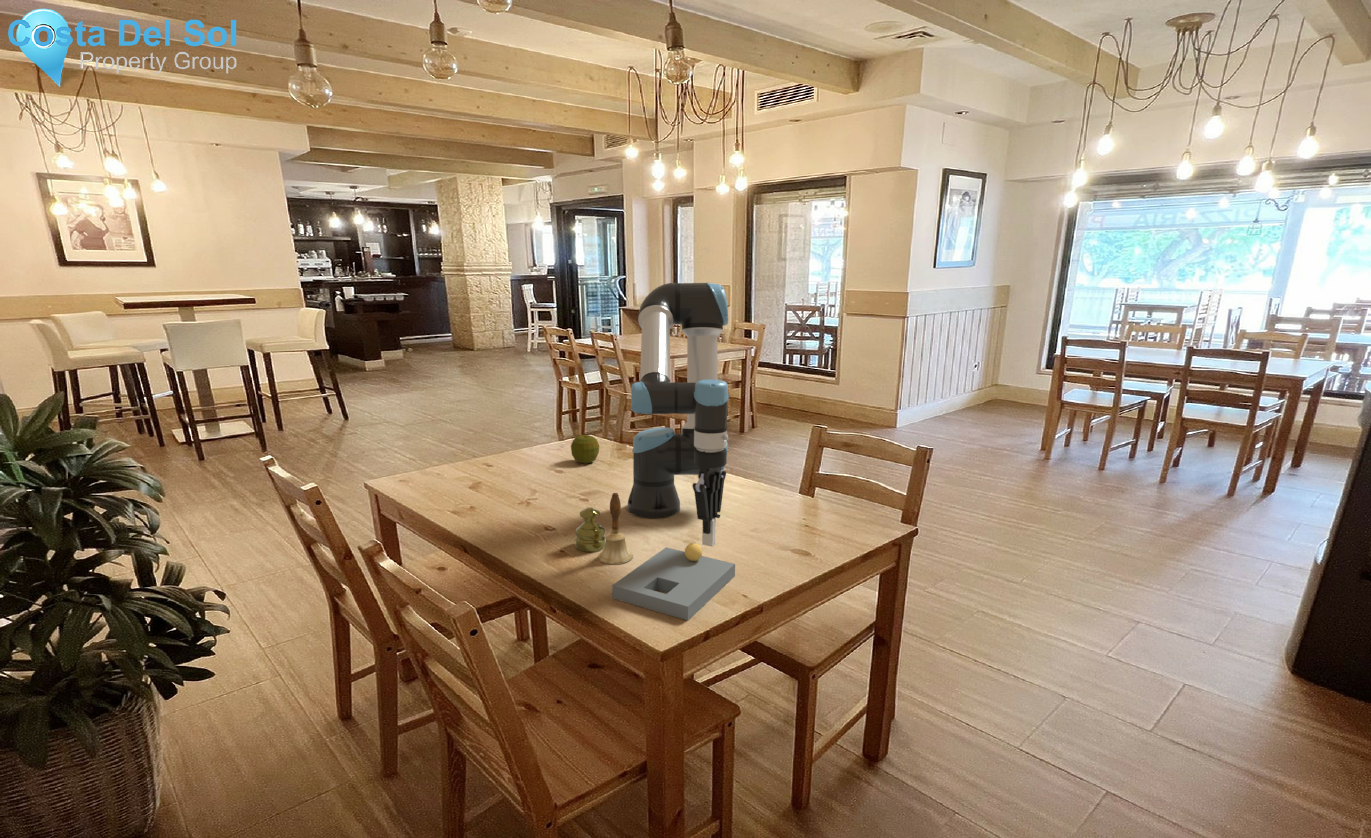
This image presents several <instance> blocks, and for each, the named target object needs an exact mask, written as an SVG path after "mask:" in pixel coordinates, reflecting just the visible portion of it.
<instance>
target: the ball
mask: <svg viewBox="0 0 1371 838" xmlns="http://www.w3.org/2000/svg"><path fill="white" fill-rule="evenodd" d="M684 552H685V556H686V557H687V559H689V560H691V561H697V560H699V559H700V558H701V556H703V548H702V546H701V545H699V543H696V542H691V543H689V544H687V545H686V547H685V548H684Z"/></svg>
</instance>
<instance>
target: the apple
mask: <svg viewBox="0 0 1371 838" xmlns="http://www.w3.org/2000/svg"><path fill="white" fill-rule="evenodd" d="M570 444H571V445H570V450H571V456H572V458H573V459H574V460H575V462H578V463H580V464H585V463H586V464H590V463H592V462H595V461H596V460H597V457H598V455H599V452H600V444H599V441H598V440H597V438H595V436H592V435H589V434H588V435H587V434H586V433H585V432H584V434H581V435H577V436H576V437H575V438H574V439H573V440H572V442H571V443H570Z"/></svg>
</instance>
